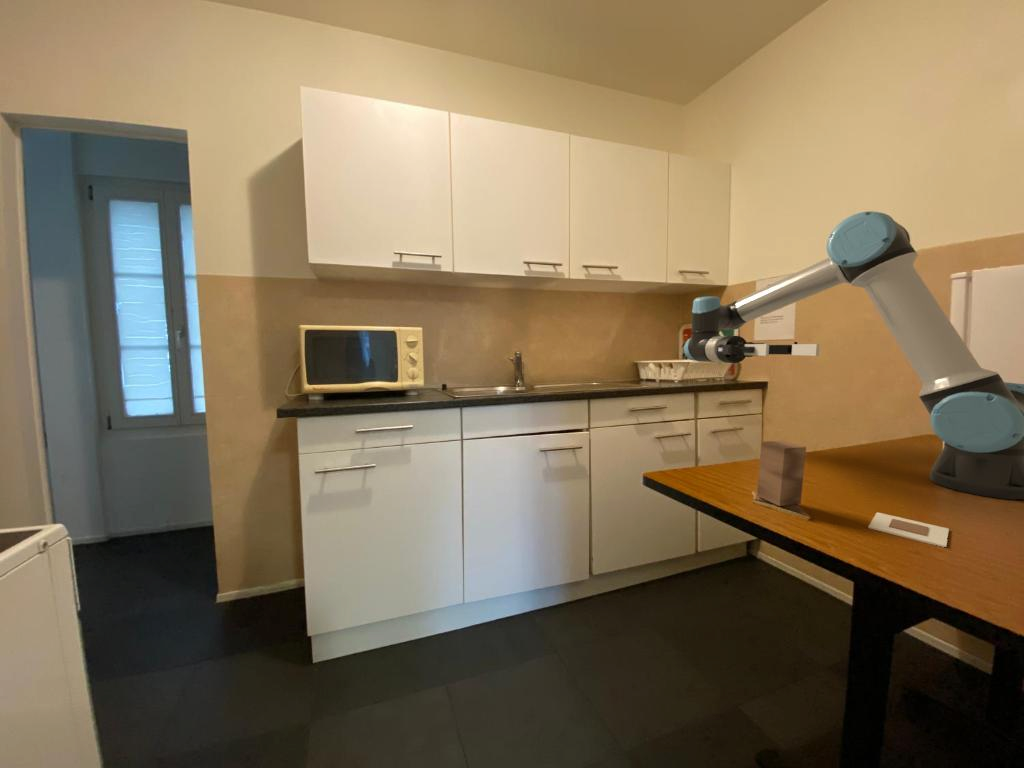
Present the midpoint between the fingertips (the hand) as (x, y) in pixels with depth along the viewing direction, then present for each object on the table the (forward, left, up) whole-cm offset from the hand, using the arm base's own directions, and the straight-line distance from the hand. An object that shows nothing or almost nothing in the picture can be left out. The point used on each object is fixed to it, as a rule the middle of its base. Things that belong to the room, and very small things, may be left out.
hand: (793, 349), depth 92 cm
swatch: (-22, +16, -30) cm, 41 cm away
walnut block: (-4, +21, -29) cm, 36 cm away
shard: (-5, +20, -31) cm, 37 cm away
